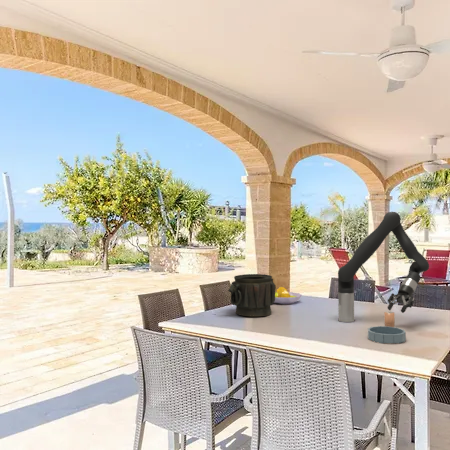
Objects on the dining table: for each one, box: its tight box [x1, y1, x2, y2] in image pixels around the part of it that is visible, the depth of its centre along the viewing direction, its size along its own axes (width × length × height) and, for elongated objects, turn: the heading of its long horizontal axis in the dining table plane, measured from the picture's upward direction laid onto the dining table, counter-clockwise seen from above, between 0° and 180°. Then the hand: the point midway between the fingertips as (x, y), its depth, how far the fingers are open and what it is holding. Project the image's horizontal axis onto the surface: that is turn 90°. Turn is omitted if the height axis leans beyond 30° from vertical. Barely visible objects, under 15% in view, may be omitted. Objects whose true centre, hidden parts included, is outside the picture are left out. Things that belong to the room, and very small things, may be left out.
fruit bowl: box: [273, 286, 302, 305], centre depth 340 cm, size 28×27×11 cm
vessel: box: [227, 273, 277, 317], centre depth 300 cm, size 31×32×25 cm
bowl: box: [367, 325, 407, 344], centre depth 233 cm, size 18×18×4 cm
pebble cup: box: [383, 311, 396, 327], centre depth 249 cm, size 5×5×10 cm
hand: (395, 310), depth 252 cm, fingers open, 8 cm apart
